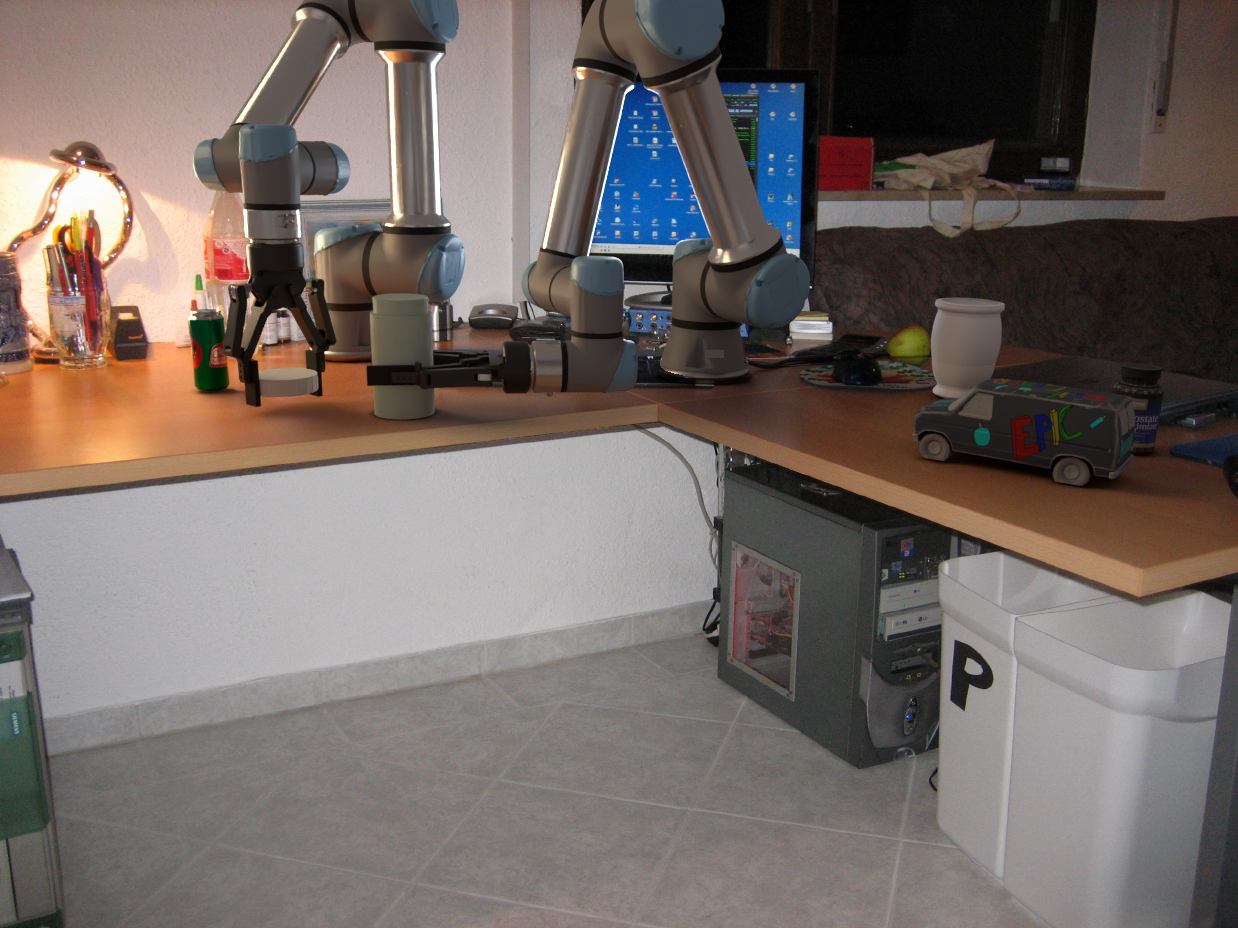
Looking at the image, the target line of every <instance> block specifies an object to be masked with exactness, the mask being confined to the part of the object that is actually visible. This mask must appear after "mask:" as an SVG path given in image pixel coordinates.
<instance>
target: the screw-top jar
mask: <svg viewBox="0 0 1238 928" xmlns="http://www.w3.org/2000/svg"><path fill="white" fill-rule="evenodd" d="M428 301H429V299H428V296H426V295H421V294H407V293H396V294H382V295H376V296H373V311H371V312H370V330H371V352H372V365H415V362H420V363H421V364H422V367H423V366H433V350H434V341H433V340H434V339H433V337H434V336H433V330H432V326H433V312H432V311H431V310H430V309H429V302H428ZM372 393H373V414H374V415H375V416H376V417H378V418H382V419H385V420H386V419H388V420H402V421H403V420H405V421H406V420H416V419H417V420H418V419H423V418H428V417H430V416H432V415H434V414H435V412H436V410H435V409H436V406H435V405H436V404H435V388H430V389H422V388H421V386H417V385H396V386H372Z"/></svg>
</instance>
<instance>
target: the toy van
mask: <svg viewBox="0 0 1238 928" xmlns="http://www.w3.org/2000/svg"><path fill="white" fill-rule="evenodd" d="M1135 431H1136V423H1135V415H1134V405H1133V398H1131V397H1130V396H1125V395H1118V394H1112V392H1104V391H1098V390H1093V389H1085V388H1079V387H1073V386H1072V387H1071V386H1065V385H1059V384H1052V383H1043V382H1037V381H1028V380H1020V379H1008V378H1002V377H1001V378H995V377H994V378H991V379H988V380H984V381H982V382H980V383H979V384H977V385H976V386H975V387H974V388H972V389H971V390H970V391H968V392H967V393H966V394H965V395H963V396H962V397H960V398H944V397H943V398H941V399H938V400H936V401H933V402H930V403H928V404H926V405H924V406H922V407H921V408H919V409H918V410H916V411H914V417H913V432H912V434H911V436H912V439H913V442H914V443H919V444H918V449H919V450H918V452H919V454H920V455H921V457H922V458H925V459H929V460H935V461H941V462H947V460H948V459H949V458H950V457H951V456H952V452H956V453H963V454H969V455H974V456H980V457H986V458H991V459H997V460H1002V461H1006V462H1007V461H1008V462H1012V463H1018V464H1022V465H1023V464H1024V465H1029V466H1034V467H1039V468H1042V469H1043V468H1044V469H1052V468H1053V469H1052V478H1053V480H1054V482H1057V483H1061V484H1068V485H1073V486H1080V487H1082V486H1085V485H1086V484H1087V483H1088V482H1089V481H1090V479H1091V476H1092V474H1093V475H1094V476H1095V477H1101V478H1102V477H1103V478H1108V479H1110V480H1115V479H1116V478H1118V477H1119V476H1120V475H1121V474H1122V473H1123V472H1124V471H1125V470H1126V469H1127V467H1128V466H1129V465H1130V464H1131V463H1132V461H1133V460H1134V458H1135V455H1134V453H1131V451H1132V450H1133V441H1134V436H1135Z"/></svg>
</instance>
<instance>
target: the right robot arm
mask: <svg viewBox="0 0 1238 928" xmlns="http://www.w3.org/2000/svg"><path fill="white" fill-rule="evenodd" d="M724 26H725V9H724V6H723V2H722V0H593V2H592V4H591V5H590V8H589V10H588V12H587V14H586V17H585V19H584V22H583V25H582V27H581V30H580V34H579V37H578V41H577V45H576V49H575V53H574V57H573V62H572V66H571V71H570V72H571V74H572V75H573V78H574V79H575V85H574V90H573V95H572V99H571V103H570V108H569V111H568V112H569V113H568V117H567V121H566V127H565V132H564V136H563V140H562V145H561V150H560V153H559V159H558V163H557V168H556V173H555V177H554V182H553V187H552V191H551V196H550V200H549V204H548V210H547V214H546V218H545V224H544V228H543V233H542V237H541V242H540V246H539V251H538V255H537V259H536V260H535V261H533V262H531V263H530V264H529V265H528V266H527V267H526V268H525V270H524V271H523V273H522V276H521V283H520V285H521V290H522V294H523V296H524V298H525V299H526V300H527V301H528V302H529V303H530V304H531V305H533V306H535V307H537V308H539V309H542V310H543V311H544V312H547V313H555V314H559V315H562V316H566V317H568V318H570V335H571V336H570V337H571V339H569V340H559V339H558V340H554V339H553V340H533V341H531V344H529V343H528V342H527V341H526V340H506V341H504V342H502V344H501V355H490V351H489V350H487V349H483V350H447V349H446V350H445V349H433V366H423V367H422V364H421V363H420V362H415V365H372V353H371V360H370V364H369V365H368V364H367V365H366V366H365V367H366V384H367V385H366V386H367V387H373V386H396V385H417V386H421V388H422V389H430V388H434V389H443V388H444V389H445V388H462V387H463V388H465V387H492V386H493V381H500V380H501V383H502V390H503V392H504V393H505V394H508V395H509V394H510V395H511V394H513V395H514V394H527V393H529V392H530V390H532V393H534V394H536V393H537V394H541V393H542V394H545V393H546V396H547V397H552V396H553V395H554V393H602V394H606V393H614V392H615V393H616V392H627V391H630V390H632V389H634V387H635V386H636V384H637V380H638V375H639V374H638V373H639V361H638V360H639V359H638V356H639V355H638V354H639V353H638V349H637V344H636V343H635V342H634V341H633V340H629V339H626V338H624V334H623V331H624V330H623V324H624V303H625V302H624V301H625V300H624V299H625V298H624V297H625V288H626V284H625V280H624V279H625V278H624V264H623V262H622V260H621V259H619V258H618V257H615V256H606V255H590V252H591V251H590V250H591V247H592V242H593V238H594V233H595V228H596V225H597V220H598V216H599V211H600V207H601V203H602V198H603V194H604V191H605V185H606V181H607V176H608V173H609V167H610V165H611V164H610V163H611V159H612V154H613V151H614V146H615V142H616V138H617V134H618V129H619V124H620V120H621V116H622V110H623V108H624V107H623V106H624V102H625V98H626V94H627V93H628V92H630V91H632V90H633V89H634V88H635V84H636V79H637V76H638V74H639V76H640V79H641V83H642V84H643V87H644V89H646V90H648V91H650V92H653V93H655V94H657V96H658V97H659V100H660V102H661V105H662V108H663V110H664V113H665V116H666V118H667V121H668V124H669V127H670V130H671V132H672V136H673V137H674V140H675V143H676V146H677V148H678V152H679V154H680V157H681V160H682V162H683V165H684V168H685V170H686V173H687V176H688V179H689V181H690V184H691V188H692V189H693V192H694V195H695V199H696V200H697V201H696V202H697V203H698V206H699V209H700V211H701V214H702V218H703V220H704V222H705V225H706V228H707V231H708V234H709V236H710V237H707V238H691V239H690V238H689V239H684V240H683V239H682V240H680V241H678V242H677V243H676V244H675V246H674V251H673V258H672V262H671V266H672V287H671V288H672V289H671V290H672V293H671V321H670V322H671V325H670V332H669V334H668V337H667V341H666V344H665V346H664V350H663V352H662V356H661V357H660V360H659V363H660V366H661V368H663V369H664V370H665V371H668V372H671V373H674V374H679V375H683V376H687V377H690V378H685V377H678V376H673V375H669V374H666V373H663V372H661V371H660V370H659V369H658V374H659V376H661V378H664V379H667V380H670V381H675V382H680V383H687V384H688V383H689V384H702V385H719V384H722V385H723V384H733V383H739V382H742V381H745V380H747V379H748V378H749V377H750V376H749V375H750V366H752V367H755V368H758V369H764V370H765V369H766V370H767V369H774V368H778V367H780V366H783V365H786V364H790V363H797V362H806V361H815V360H823V359H824V360H825V359H826V360H827V359H834V358H833V357H834V356H836V355H837V354H834V353H825V354H826V355H820V354H810V355H801V356H795V357H787V358H783V359H781V360H778V361H775V362H771V363H760V362H757V361H754V360H750V359H747V354H746V349H745V346H744V341H743V339H742V334H741V324H742V325H746V326H750V327H753V328H755V329H768V330H770V329H771V330H776V329H781V328H783V327H787V326H788V325H790V324H791V323H792V322H794V320H795V319H796V318H797V317H799V315H800V314H801V312H802V311H803V309H804V308H805V304H806V300H808V299H809V294H810V289H811V276H810V271H809V268H808V266H807V264H806V263H805V262H804V260H803V259H802V258H800V257H799V256H797V255H796V254H794V253H792V252H791V253H788V251H787V247H786V245H785V242H784V240H783V239H784V238H783V236H782V233H781V231H780V229H779V228H777V227H776V226H773V225H770V223H769V224H768V223H767V220H766V218H765V217H766V216H765V214H764V211H763V208H762V206H761V202H760V199H759V196H758V194H757V191H756V187H755V185H754V181H753V179H752V176H751V173H750V170H749V167H748V163H747V161H746V157H745V155H744V151H743V148H742V146H741V142H740V139H739V137H738V134H737V131H736V128H735V125H734V122H733V118H732V116H731V113H730V109H729V107H728V104H727V101H726V98H725V96H724V92H723V89H722V87H721V83H720V81H719V77H718V75H717V69H718V66H719V63H720V61H721V59H722V57H723V55H722V52H721V48H720V45H719V42H720V41H721V38H722V36H723V31H722V29H723V27H724ZM874 352H875V353H866V354H871V355H874V356H875V357H891V356H890V354H889V353H888V352H889V351H874ZM929 356H932V355H931V351H930V355H929Z"/></svg>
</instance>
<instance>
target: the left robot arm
mask: <svg viewBox="0 0 1238 928" xmlns="http://www.w3.org/2000/svg"><path fill="white" fill-rule="evenodd" d="M459 26H460V13H459V5H458V1H457V0H303V1H302V2H301V3H300V5H299V6H298V7H297V8H296V10H295V12H294V13H293V15H292V16H291V20H290V27H291V31H290V32H289V34H288V35H287V36H286V39H284V42H283V43H282V45H281V46H280V47H279V49H278V51H277V52H276V54H275V56H274V57H273V59H272V60H271V62H270V63H269V65H268V66H267V68H266V70H265V71H264V73H263V74H262V76H261V77H260V78H259V80H258V82H257V84H256V85H255V87H254V88H253V89H252V91H251V93H250V95H249V96H248V98H247V99H246V100H245V102H244V103H243V105H242V107H241V108H240V110H239V111H238V113H237V114H236V116H235V117H234V119H233V121H232V122H231V124H230V125H229V127H228V129H227V130H226V131H225V133H224V135H223V136H222V138H217V137H213V138H211V139H204V140H202V141H200V142H199V143H198V144H197V146H196V147H195V149H194V152H193V156H192V167H193V171H194V174H195V177H196V178H197V179H198V182H199V183H200V184H201V185H202V186H203V187H204V188H205V189H207V190H209V191H214V192H220V193H227V194H234V193H235V194H243V195H242V196H243V217H244V218H243V219H244V234H245V235H244V236H245V238H246V239H248V240H250V242H248V243H247V244H246V245H245V246H246V258H247V260H246V261H247V268H248V272H249V277H248V280H247V282H245V283H239V284H238V283H237V284H236V283H230V284H228V286H227V290H228V297H229V306H228V313H227V320H226V325H225V340H224V346H223V354H224V355H226V356H227V357H229V358H233V359H235V360H237V361H236V362H237V371H238V380H239V383H242V384H244V395H245V404H246V405H248V406H250V407H251V406H252V407H254V408H260V407H262V399H261V397H262V396H260V383H259V370H260V369H259V360H257V359H255V358H254V359H253V357H254V355H255V352H256V349H257V347H258V344H259V341H260V338H261V336H262V333H263V331H264V328H265V325H266V323H267V321H268V318H269V317H270V316H271V315H272V313H273V311H277V310H278V311H279V310H281V309H287V310H288V311H289V312H290V314H291V315H292V317H293V319H294V320H295V323H296V324H297V326H298V327H299V330H300V332H301V333H302V335H303V337H304V339H305V341H306V342H307V344H308V346H309V349H306V350H305V351H304V352H305V366H306V367H305V369H311V370H314V371H316V372H317V376H318V384H319V388H318V390H317V391H315V392H313V393H310V394H309V395H310V396H314V397H318V398H321V397H323V396H324V394H323V377H322V376H323V375H322V373H325V372H326V361H331V362H366V361H371V353H372V352H371V330H370V312H371V311H373V296H376V295H382V294H396V293H407V294H421V295H426V296H428V299H429V301H428V303H429V302H430V303H441V302H444V301H447V300H449V299H450V298H452V296H454V294H456V292H457V291H458V288H459V286H460V284H461V282H462V279H463V275H464V272H465V264H466V250H465V247H464V245H463V244H464V243H463V240H462V238H460V237H459V236H457V235H456V234H453V233H452V223H451V221H450V220H449V219H448V218H447V217H446V216H445V215H444V214H443V211H442V182H441V181H442V180H441V179H442V178H441V150H440V149H441V147H440V120H439V115H440V114H439V87H438V84H439V83H438V65H439V64H440V62H441V61H442V60H443V59H444V58H445V57H446V55H447V49H446V44H449V43H450V42H452V41H454V39H455V38H456V37H457V35H458V30H459ZM362 43H371V44H372V43H373V51H374V54H375V55H376V56H377V58H378V59H379V60H380V61H381V62H382V63H383V66H384V88H385V91H384V92H385V111H386V112H385V113H386V128H387V129H386V133H387V134H386V135H387V154H388V155H387V156H388V178H389V179H388V180H389V200H390V213H389V214H388V216H387V217H386V218H385V219H384V220H383V221H382V226H381V224H380V223H378V222H374V223H364V224H355V225H344V226H336V227H326V228H321V229H319V230H318V231H317V232H316V233H315V235H314V246H313V247H314V249H313V251H314V252H313V257H314V269H315V277H309V278H306V276H305V274H304V268H305V253H304V252H305V251H304V245H303V243H302V242H299V240H300V239H302V238H303V228H302V227H303V226H302V210H301V209H302V205H301V204H302V203H301V196H324V197H326V196H327V197H328V196H329V195H332V194H333V195H334V194H337V193H339V192H341V191H343V190H344V189H345V188H346V186H347V185H348V183H349V181H350V177H351V170H352V169H351V163H350V159H349V157H348V156H347V153H346V152H345V150H343V148H341V147H340V146H339V145H337V144H335V143H333V142H327V141H325V140H314V141H313V140H298V136H297V130H296V129H295V124H296V123H297V121H298V120H299V118H300V116H301V115H302V113H303V111H304V109H305V108H306V106H307V105H308V103H309V101H310V100H311V98H312V96H313V95H314V93H315V92H316V90H317V88H318V87H319V85H320V83H321V82H322V80H323V78H324V76H325V75H326V74H327V72H328V70H329V69H330V67H331V66H332V63H333V62H334V61H336V60H339V59H341V58H343V57H344V56H345V55H346V53H347V52H348V50H349V48H351V47H353V46H354V45H358V44H362ZM303 292H306V293H307V298H308V302H309V305H310V309H311V312H312V316H313V319H314V320H313V319H312V317H311V315H310V313H309V311H308V310H307V309H308V306H307V304H306V302H305V300H304V298H303V296H302V295H303ZM250 293H251V295H252V296H253V297H254V298H253V301H252V304H251V307H250V314H249V317H248V320H247V322H246V318H247V311H248V310H247V309H248V299H249V298H250V297H251V295H250ZM245 323H246V325H245ZM462 324H464V320H463V318H462V317H461V316H459V317H457V322H456V323H452V324H451V325H452V328H451V329H456V328H458V327H460V326H461V325H462Z"/></svg>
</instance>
